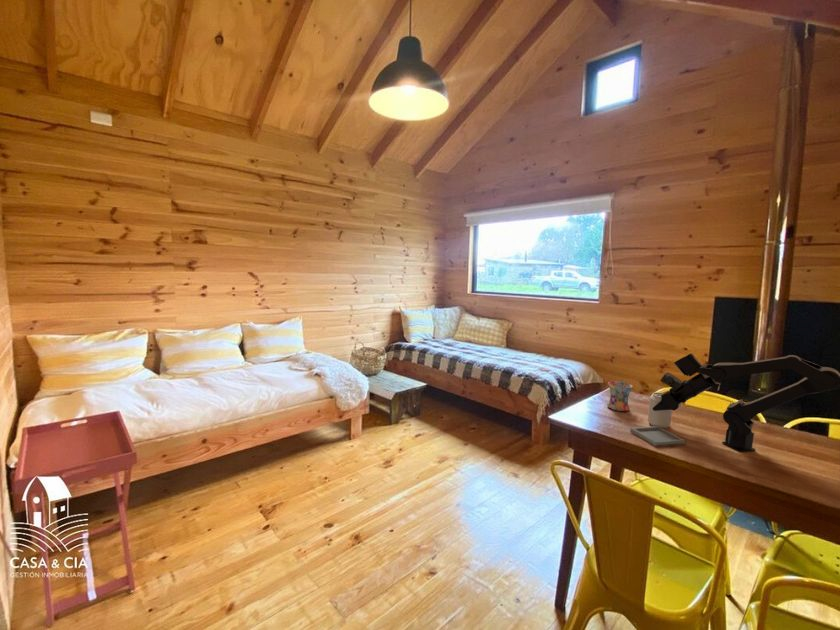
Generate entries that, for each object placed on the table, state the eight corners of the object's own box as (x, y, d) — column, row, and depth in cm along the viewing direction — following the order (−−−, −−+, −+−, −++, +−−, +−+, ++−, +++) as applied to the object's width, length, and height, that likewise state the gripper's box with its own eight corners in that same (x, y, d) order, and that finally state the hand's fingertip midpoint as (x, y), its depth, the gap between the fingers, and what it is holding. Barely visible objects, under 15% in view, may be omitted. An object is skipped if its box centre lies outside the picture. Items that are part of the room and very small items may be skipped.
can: (661, 420, 152) (664, 391, 150) (674, 429, 144) (678, 398, 143) (642, 420, 151) (646, 391, 149) (655, 428, 144) (659, 397, 142)
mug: (625, 414, 157) (628, 389, 156) (602, 408, 164) (604, 383, 162) (635, 407, 165) (638, 383, 164) (613, 401, 172) (615, 378, 171)
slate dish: (684, 444, 131) (685, 440, 131) (655, 446, 129) (655, 442, 129) (657, 430, 143) (658, 426, 142) (630, 431, 140) (630, 427, 140)
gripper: (683, 363, 148) (648, 384, 157) (670, 372, 135) (633, 394, 145) (706, 388, 144) (668, 408, 153) (695, 399, 131) (654, 420, 140)
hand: (656, 407), depth 148 cm, fingers closed on can, 7 cm apart
